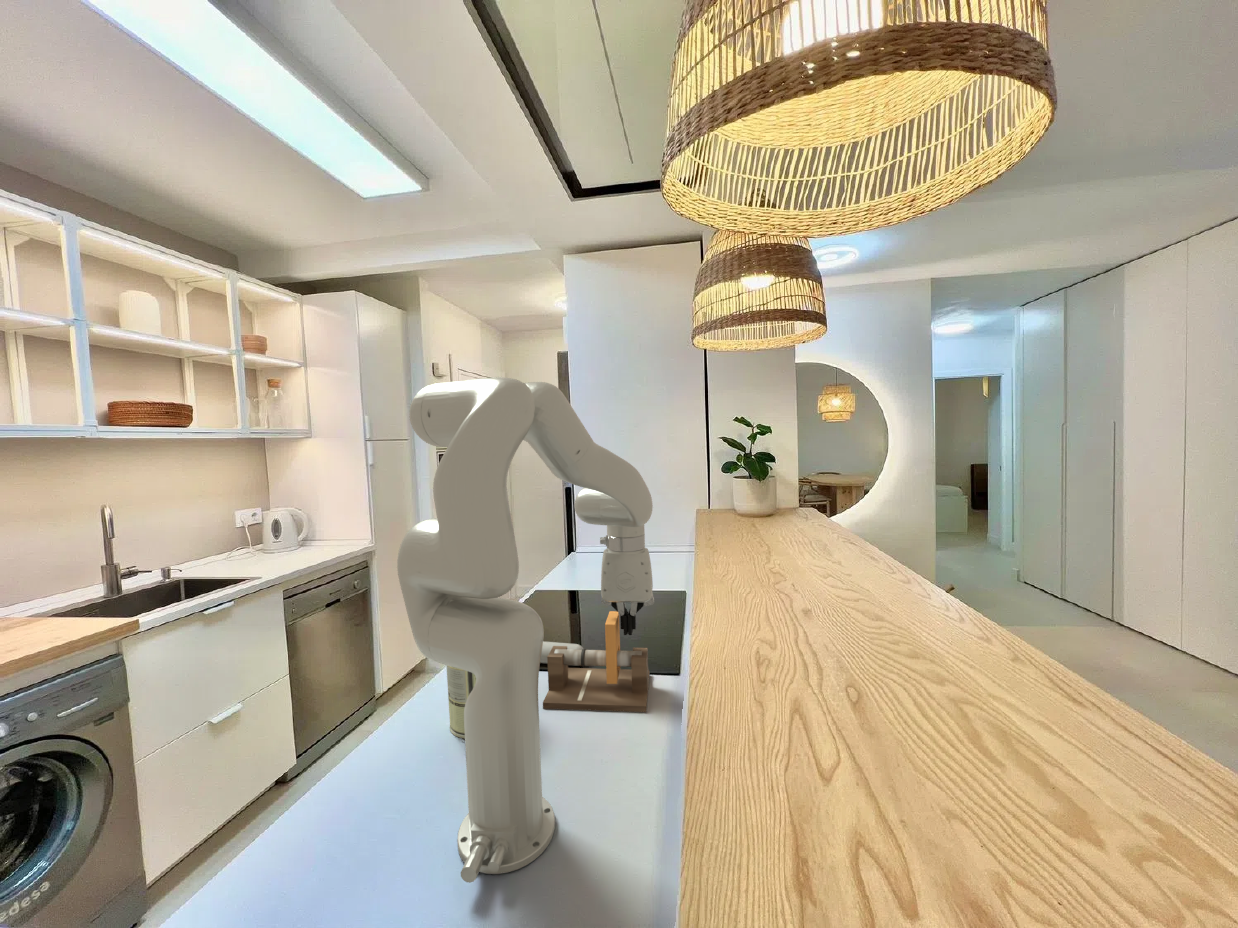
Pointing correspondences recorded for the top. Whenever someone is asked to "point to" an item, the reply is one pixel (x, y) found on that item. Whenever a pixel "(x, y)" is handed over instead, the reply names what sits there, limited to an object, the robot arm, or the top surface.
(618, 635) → the orange flat block
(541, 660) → the tube
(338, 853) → the top surface
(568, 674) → the pipe stand
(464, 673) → the coffee can
